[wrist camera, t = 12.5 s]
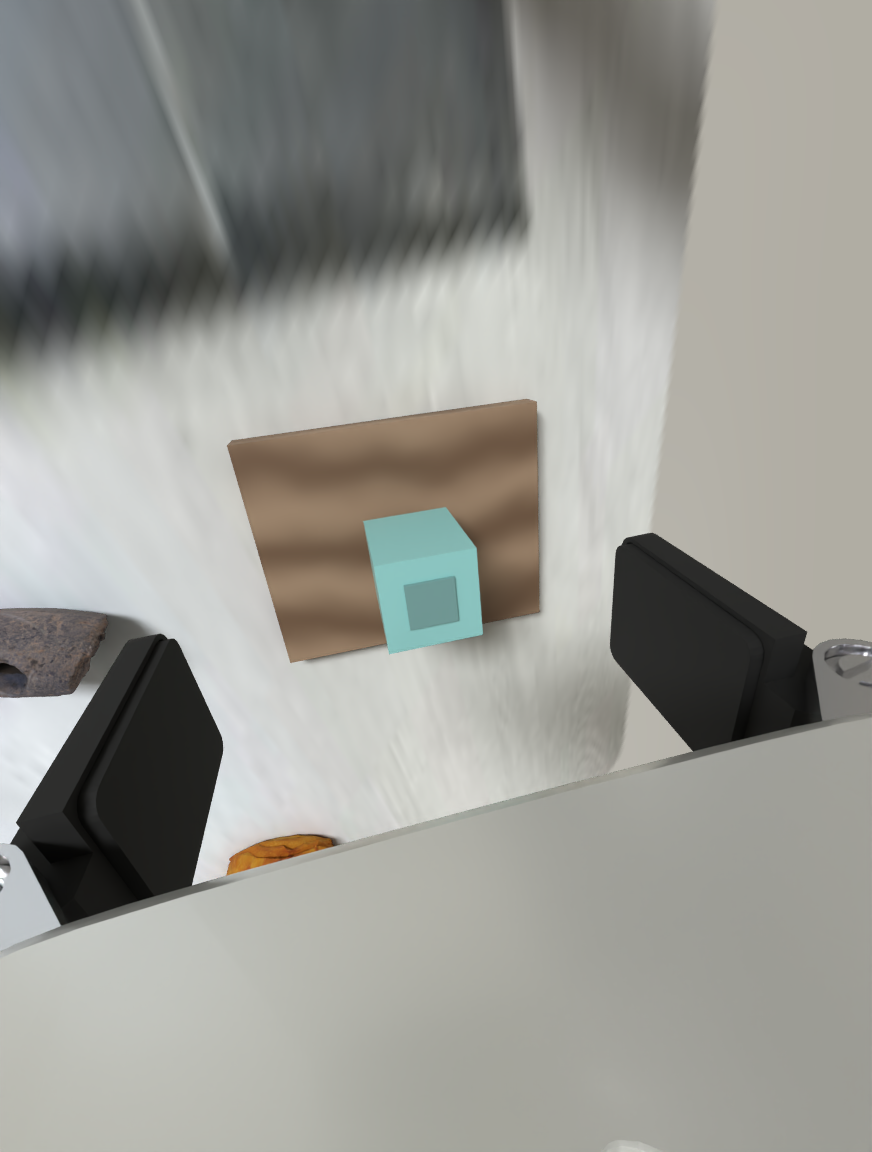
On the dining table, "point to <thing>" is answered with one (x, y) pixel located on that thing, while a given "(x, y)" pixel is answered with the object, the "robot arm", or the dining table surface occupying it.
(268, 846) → the croissant
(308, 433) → the stud board
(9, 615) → the perforated stone tool
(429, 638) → the teal block
